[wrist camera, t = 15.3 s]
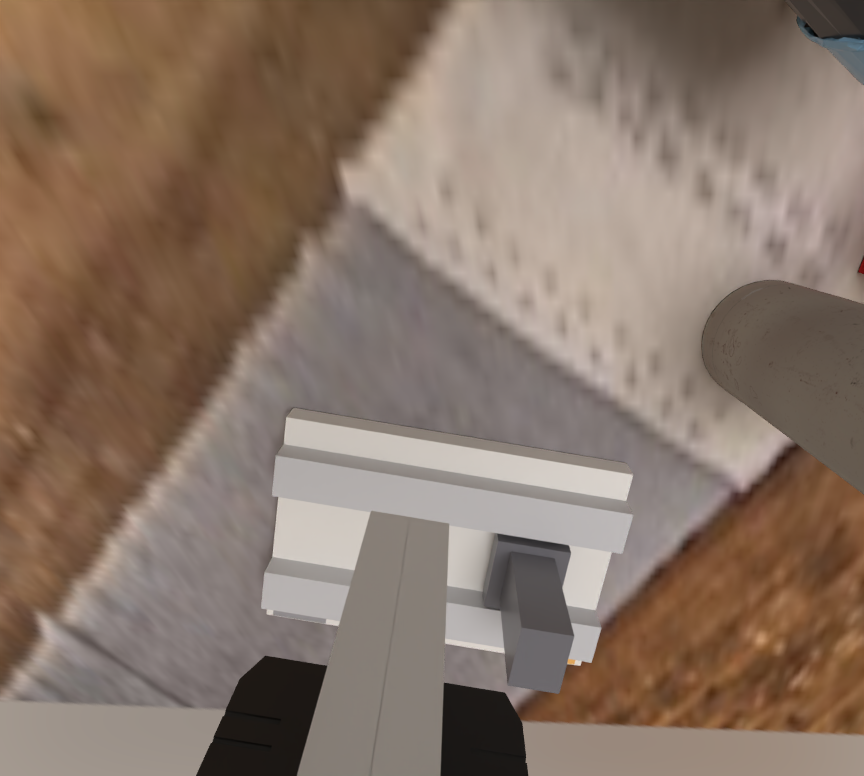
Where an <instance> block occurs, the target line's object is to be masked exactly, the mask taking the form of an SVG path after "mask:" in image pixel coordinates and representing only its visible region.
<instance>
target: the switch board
mask: <svg viewBox="0 0 864 776" xmlns="http://www.w3.org/2000/svg"><path fill="white" fill-rule="evenodd" d="M632 478H633V474H632V472H631V470H630V469H629V467H628V465H627V464H626V463H623V462H617V461H611V460H605V459H599V458H593V457H587V456H581V455H575V454H569V453H563V452H557V451H551V450H545V449H539V448H533V447H527V446H521V445H515V444H509V443H503V442H497V441H491V440H485V439H479V438H473V437H467V436H461V435H455V434H449V433H443V432H437V431H431V430H425V429H419V428H412V427H406V426H400V425H394V424H388V423H382V422H376V421H370V420H364V419H358V418H352V417H346V416H340V415H334V414H328V413H322V412H316V411H310V410H304V409H298V408H293V409H292V410H291V412H290V413H289V414H288V416H287V417H286V426H285V436H284V444H283V446H282V447H281V449H280V450H279V452H278V453H277V454H276V459H275V469H274V479H273V490H272V496H275V497H278V506H277V516H276V526H275V536H274V546H273V556H272V559H271V561H270V563H269V565H268V567H267V568H266V570H265V573H264V583H263V593H262V604H261V608H263V609H267V614H268V615H275V616H281V617H287V618H293V619H299V620H305V621H311V622H317V623H323V624H329V625H335V626H339V623H340V620H341V616H342V612H343V609H344V605H345V602H346V598H347V595H348V591H349V588H350V584H351V580H352V577H353V573H354V570H355V566H356V563H357V559H358V555H359V552H360V548H361V545H362V541H363V538H364V534H365V530H366V527H367V523H368V520H369V516H370V513H371V511H377V512H383V513H389V514H395V515H401V516H407V517H413V518H419V519H425V520H431V521H437V522H443V523H449V548H448V576H447V604H446V632H445V644H451V645H457V646H463V647H469V648H475V649H481V650H487V651H493V652H499V653H505V651H504V641H503V630H502V619H501V609H498V608H492V607H486V606H484V596H483V587H484V583H485V578H486V573H487V569H488V564H489V559H490V555H491V550H492V545H493V541H494V536H495V533H498V534H504V535H510V536H517V537H523V538H529V539H535V540H541V541H547V542H553V543H559V544H565V545H569V547H570V551H571V556H570V560H569V564H568V568H567V572H566V576H565V580H564V584H563V587H562V589H563V593H564V597H565V601H566V605H567V609H568V613H569V617H570V621H571V625H572V629H573V633H574V640H573V643H572V647H571V651H570V655H569V658H568V662H567V664H572V665H578V666H580V665H581V661H585V662H592V659H593V655H594V652H595V648H596V645H597V641H598V638H599V634H600V631H601V625H600V622H599V619H598V616H597V613H596V607H597V604H598V600H599V597H600V593H601V589H602V586H603V582H604V579H605V575H606V571H607V568H608V564H609V561H610V557H611V553H612V552H613V553H619V554H622V553H623V550H624V546H625V543H626V539H627V536H628V532H629V529H630V525H631V522H632V518H633V513H632V511H631V509H630V507H629V506H628V504H627V502H626V500H627V496H628V492H629V489H630V485H631V482H632Z"/></svg>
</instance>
